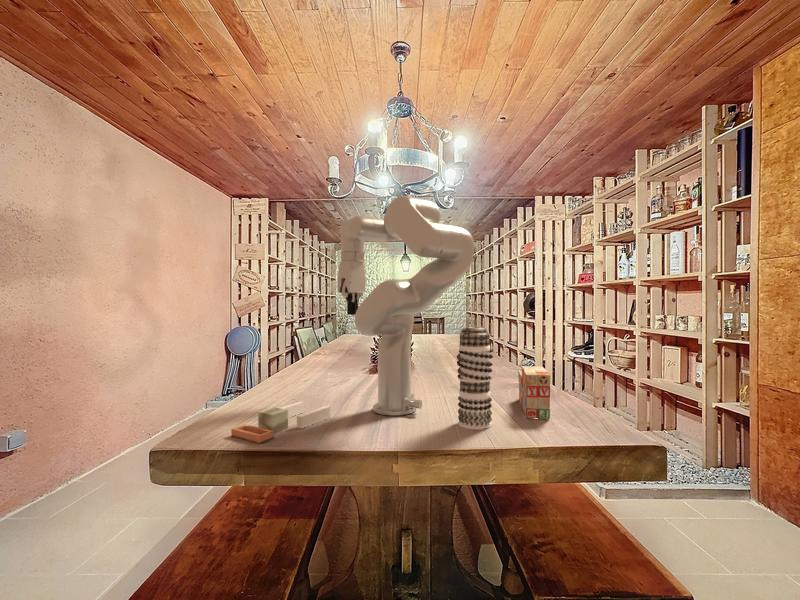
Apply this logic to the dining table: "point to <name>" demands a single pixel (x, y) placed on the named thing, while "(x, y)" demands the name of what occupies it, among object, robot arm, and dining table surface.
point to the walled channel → (307, 414)
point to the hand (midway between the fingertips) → (352, 314)
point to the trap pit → (252, 434)
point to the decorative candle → (474, 378)
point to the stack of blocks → (534, 392)
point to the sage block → (273, 419)
